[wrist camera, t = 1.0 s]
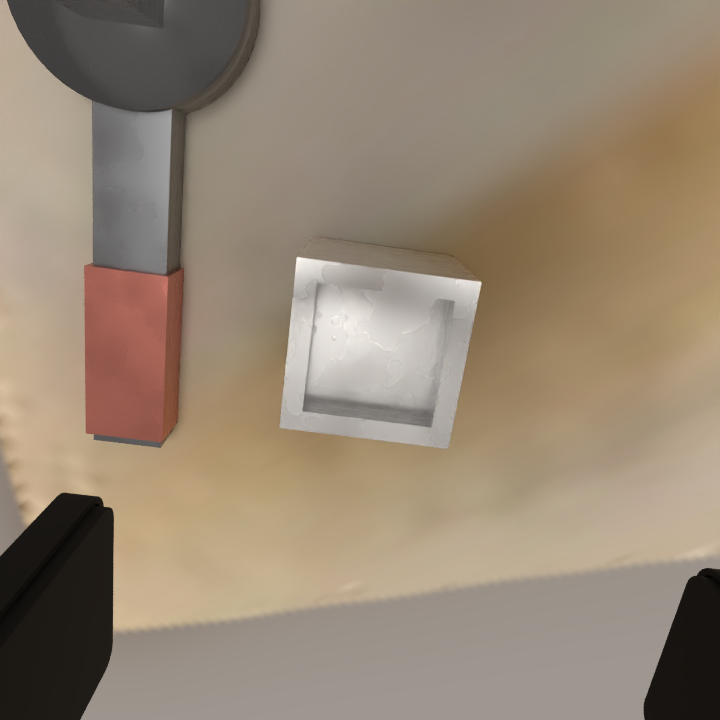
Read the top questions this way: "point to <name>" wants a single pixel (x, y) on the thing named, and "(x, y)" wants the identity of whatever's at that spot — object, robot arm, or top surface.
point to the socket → (377, 342)
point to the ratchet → (137, 180)
